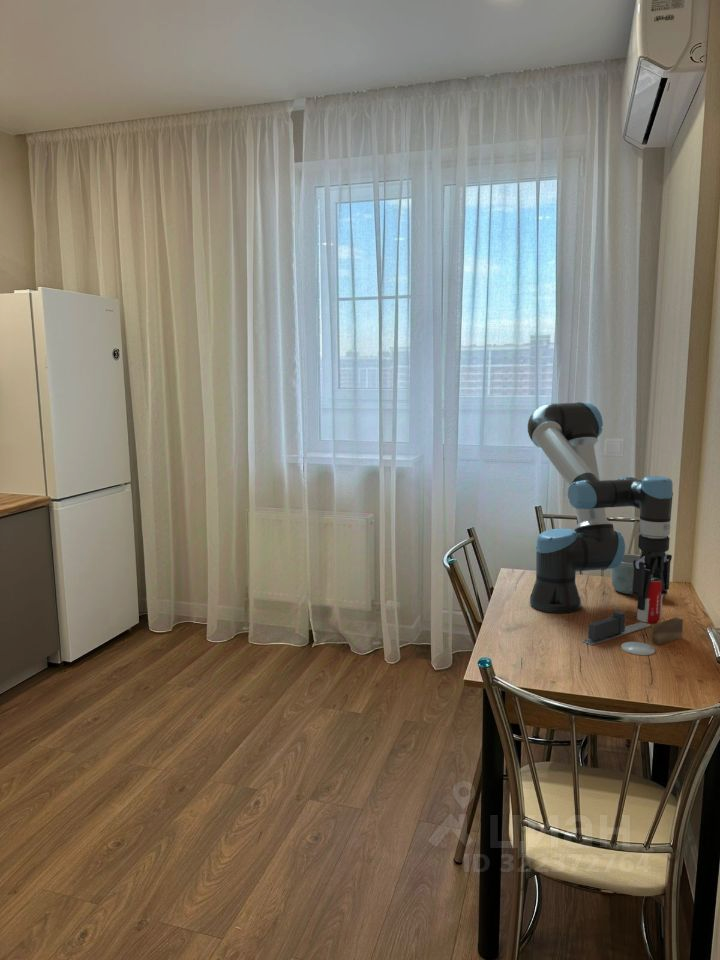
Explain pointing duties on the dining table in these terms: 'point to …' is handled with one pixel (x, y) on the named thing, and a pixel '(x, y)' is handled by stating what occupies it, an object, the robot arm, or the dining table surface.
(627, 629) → the rail
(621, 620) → the dark grey block
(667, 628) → the block
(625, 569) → the planter
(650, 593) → the beverage can
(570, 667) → the dining table surface
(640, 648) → the coaster
